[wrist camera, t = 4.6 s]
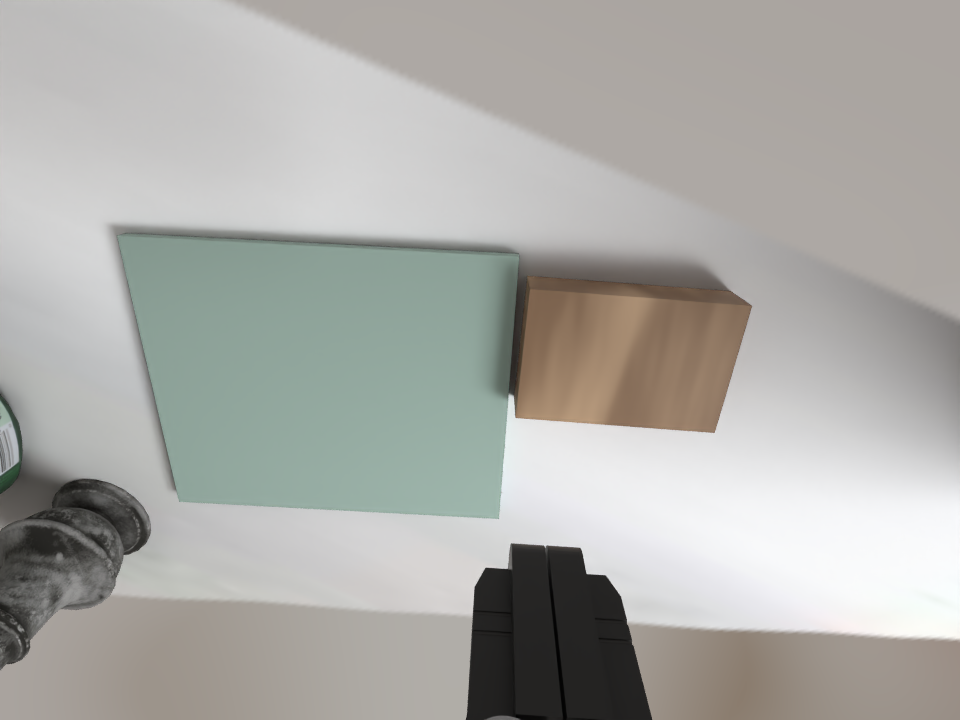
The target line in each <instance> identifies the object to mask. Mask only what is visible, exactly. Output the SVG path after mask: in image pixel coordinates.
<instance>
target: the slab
mask: <svg viewBox="0 0 960 720" xmlns="http://www.w3.org/2000/svg"><path fill="white" fill-rule="evenodd" d="M751 308H752V306H751V305H750V304H749V303H747V302H746V301H744V300H743V299H741V298H740V297H738V296H737V295H736V294H734V293H733V292H731V291H722V290H709V289H695V288H682V287H669V286H656V285H642V284H629V283H616V282H603V281H589V280H576V279H563V278H550V277H536V276H527V283H526V292H525V301H524V310H523V319H522V329H521V338H520V347H519V356H518V365H517V374H516V383H515V392H514V402H515V417H516V418H524V419H537V420H551V421H564V422H577V423H591V424H604V425H617V426H630V427H644V428H657V429H670V430H684V431H697V432H710V433H715V430H716V426H717V423H718V420H719V416H720V413H721V409H722V406H723V403H724V399H725V396H726V393H727V389H728V386H729V382H730V379H731V376H732V372H733V369H734V365H735V362H736V359H737V355H738V352H739V349H740V345H741V342H742V338H743V335H744V332H745V328H746V325H747V321H748V318H749V315H750V311H751Z"/></svg>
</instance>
